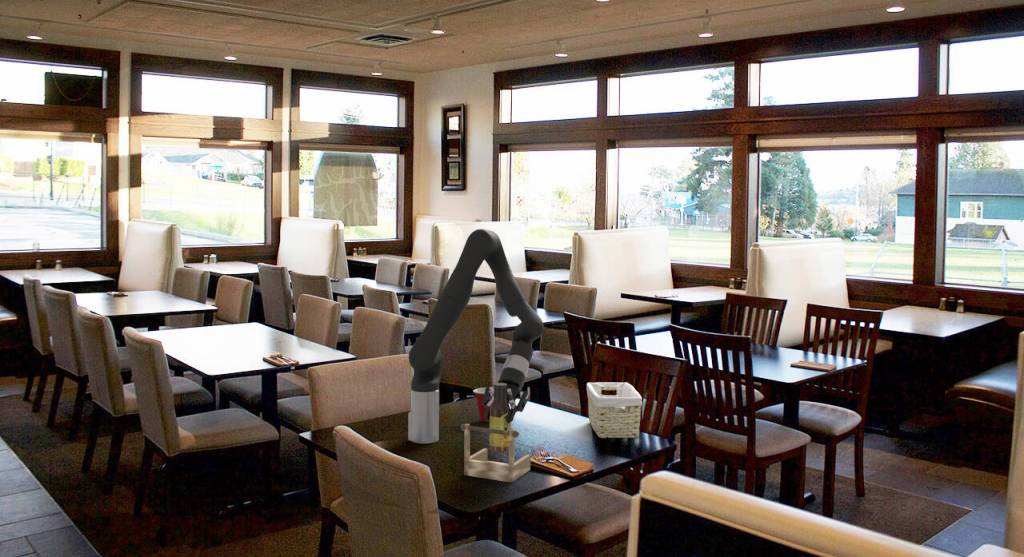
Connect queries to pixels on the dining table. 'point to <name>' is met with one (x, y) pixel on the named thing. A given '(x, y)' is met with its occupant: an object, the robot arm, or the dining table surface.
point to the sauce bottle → (499, 419)
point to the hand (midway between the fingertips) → (497, 420)
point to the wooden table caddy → (490, 469)
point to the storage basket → (614, 410)
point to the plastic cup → (481, 408)
